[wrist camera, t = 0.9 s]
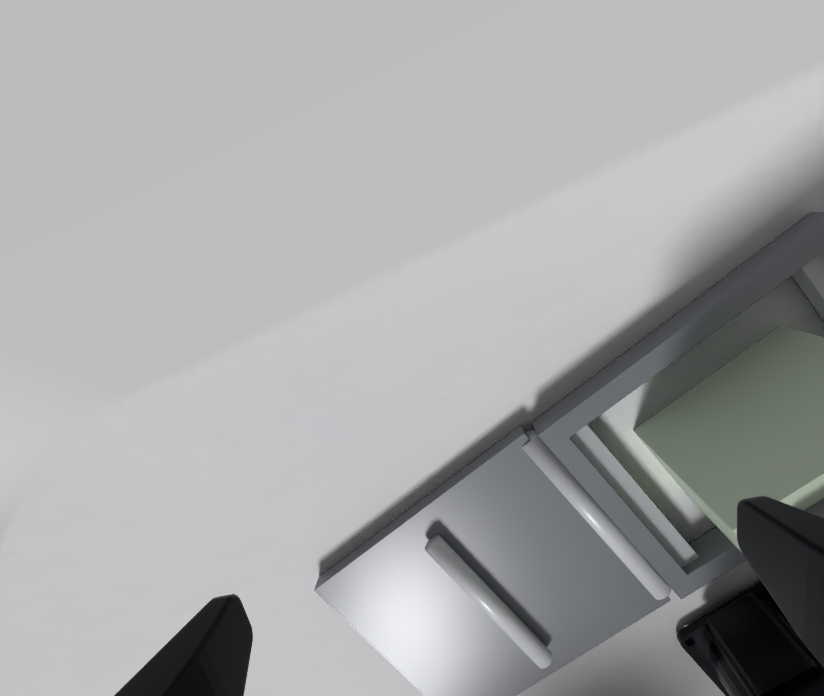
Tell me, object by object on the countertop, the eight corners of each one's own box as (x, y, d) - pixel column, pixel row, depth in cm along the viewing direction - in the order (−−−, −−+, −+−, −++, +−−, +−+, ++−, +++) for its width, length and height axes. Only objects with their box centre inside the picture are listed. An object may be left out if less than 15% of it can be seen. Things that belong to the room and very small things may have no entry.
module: (832, 396, 22) (1072, 496, 14) (685, 493, 24) (820, 635, 15) (780, 325, 21) (999, 384, 13) (632, 429, 23) (744, 542, 15)
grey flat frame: (945, 409, 22) (994, 426, 20) (458, 712, 28) (460, 748, 26) (807, 208, 20) (847, 205, 18) (319, 577, 26) (309, 604, 24)
